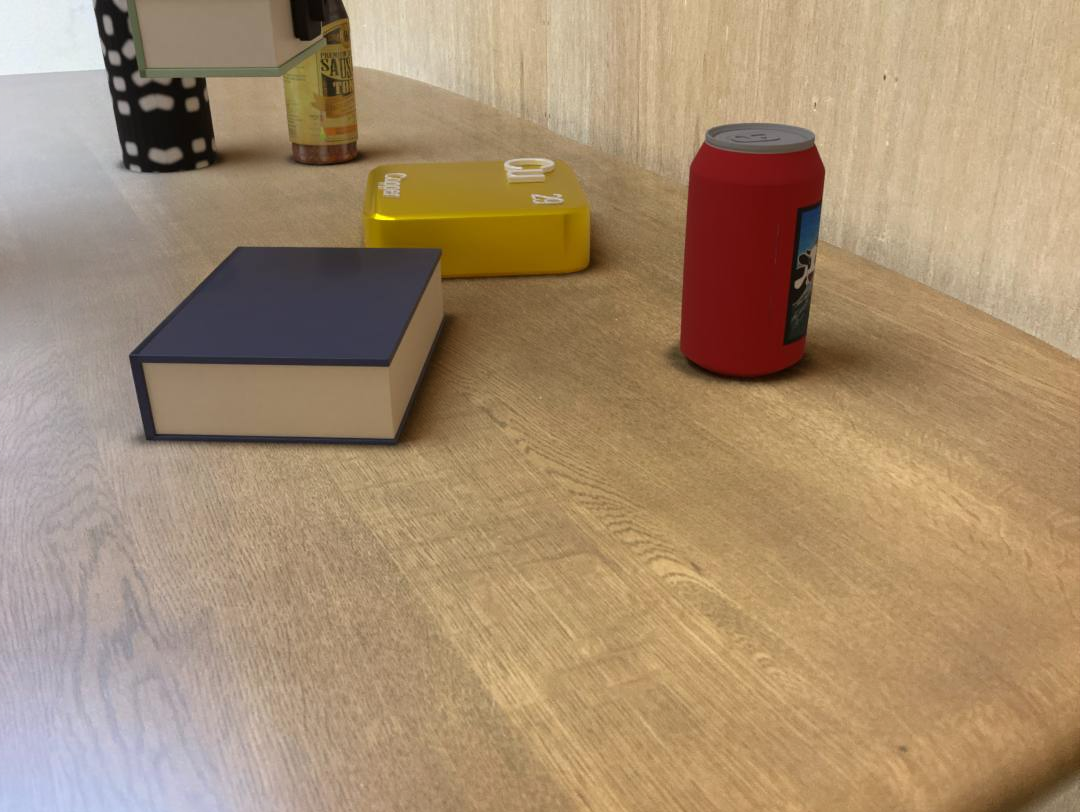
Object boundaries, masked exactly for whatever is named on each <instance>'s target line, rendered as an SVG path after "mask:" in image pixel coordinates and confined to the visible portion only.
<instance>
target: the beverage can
mask: <svg viewBox="0 0 1080 812" xmlns="http://www.w3.org/2000/svg"><path fill="white" fill-rule="evenodd" d="M704 138H705V139H704V140H703V142H702V144H701V145H700V147H699V149H698V151H697V153H696V154H695V156H694V158H693V159H692V161H691V162H690V165H689V175H688V186H687V187H688V188H687V189H688V190H687V201H686V202H687V203H686V217H685V222H686V223H685V236H684V237H685V238H684V250H683V251H684V252H683V268H682V269H683V270H682V271H683V273H682V292H681V311H680V312H681V313H680V335H679V337H680V338H679V347H680V350H681V351H680V352H681V353H682V354H683V355H684V356H685V357H686V358H687V359H689V360H690V361H692V362H693V363H695V364H696V365H698V366H700V367H701V368H703V369H704V370H706V371H709V372H712V373H714V374H715V373H716V374H719V375H723V376H729V377H739V378H752V377H753V378H755V377H763V376H769V375H773V374H776V373H779V372H781V371H783V370H785V369H787V368H789V367H791V366H793V365H795V364H796V363H798V362H799V361H800V360H801V359H802V358H803V356H804V355H805V351H806V350H805V349H806V342H807V341H806V340H807V336H808V335H807V334H808V326H809V319H810V312H811V302H812V295H813V286H814V279H815V278H814V277H815V272H816V264H817V263H816V261H817V254H818V245H819V244H818V243H819V237H820V226H821V217H822V208H823V200H824V189H825V182H826V181H825V180H826V178H825V177H826V167H825V164H824V162H823V160H822V157H821V155H820V152H819V149H818V147H817V145H816V143H815V141H816V134H815V133H814V132H813V131H812V130H809V129H807V128H804V127H800V126H796V125H789V124H784V123H771V122H770V123H769V122H738V123H737V122H736V123H727V124H722V125H716V126H713V127H710V128H708V129H707V130H706V132H705V136H704Z"/></svg>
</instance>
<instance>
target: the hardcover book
mask: <svg viewBox="0 0 1080 812" xmlns="http://www.w3.org/2000/svg"><path fill="white" fill-rule="evenodd" d="M126 3H127V8H128V14H129V19H130V25H131V30H132V36H133V41H134V47H135V52H136V58H137V63H138V69H139V74H140V78H202V77H206V78H280V77H283V75H284V74H285V73H286V72H288V71H289V70H291V69H292V68H294V67H295V66H297V65H298V64H300V63H301V62H303V61H304V60H306V59H307V58H308V57H310V56H311V55H313V54H314V53H316V52H317V51H319V50H320V49H322V48H323V47H325V46H326V45H327V42H326V38H323V32H322V23H321V35H320V36H318V37H316V38H315V39H313V40H312V41H300V39H299V38H296V36H295V29H294V20H293V12H292V3H291V0H126Z"/></svg>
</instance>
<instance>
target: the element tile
mask: <svg viewBox="0 0 1080 812" xmlns="http://www.w3.org/2000/svg"><path fill="white" fill-rule="evenodd" d="M367 175H368V176H367V182H366V186H365V187H366V188H365V192H364V193H365V194H364V201H363V205H362V210H361V211H362V212H361V219H362V220H361V221H362V230H363V232H362V233H363V241H364V243H363V244H364V248H441V249H442V256H441V258H440V266H441V279H455V278H456V279H458V278H460V279H461V278H483V277H486V278H487V277H511V276H535V275H537V276H539V275H559V274H562V275H563V274H571V273H576V272H581V271H583V270H586V269H587V267H588V266H589V265H590V260H591V204H590V202H589V200H588V198H587V196H586V193H585V191H584V189H583V187H582V186H581V183H580V182H579V179H578V177H577V175H576V173H575V172H574V169H573V167H572V166H571V165H570V164H568V163H567V162H565V161H564V160H563V159H562V160H561V159H555V158H552V159H551V158H540V157H521V158H515V159H514V158H513V159H509V160H480V161H479V160H477V161H449V162H448V161H446V162H445V161H444V162H417V163H416V162H415V163H414V162H413V163H386V164H380V165H377V166H376V167H375V168H373V169H372V170H370V171H369V172H368V174H367Z"/></svg>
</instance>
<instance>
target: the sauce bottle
mask: <svg viewBox="0 0 1080 812" xmlns="http://www.w3.org/2000/svg"><path fill="white" fill-rule="evenodd" d="M328 1H329V20H328V21H326V22H321V23H322V32H323V38H326V42H327V45H326V46H325V47H323V48H322V49H320V50H319V51H317V52H316V53H314V54H313V55H311V56H310V57H308V58H307V59H306V60H304V61H303V62H301V63H300V64H298V65H297V66H295V67H294V68H292V69H291V70H289V71H288V72H286V73H285V74H284V75H282V83H283V91H284V100H285V101H284V102H285V110H286V112H285V113H286V120H287V121H286V122H287V130H288V139H289V140H288V141H289V142H291V151H292V152H291V153H292V157H293V159H294V161H295V162H296V163H300V164H302V165H303V164H304V165H316V166H317V165H318V166H324V165H334V164H341V163H347V162H350V161H353V160H354V159H355V158H356V157H357V154H358V140H359V130H358V118H357V115H358V114H357V105H356V92H355V91H356V89H355V78H354V65H353V64H354V63H353V52H352V38H351V25H350V24H351V23H350V17H349V15H348V13H347V10H346V7H345V5H344V2H343V0H328Z"/></svg>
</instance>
